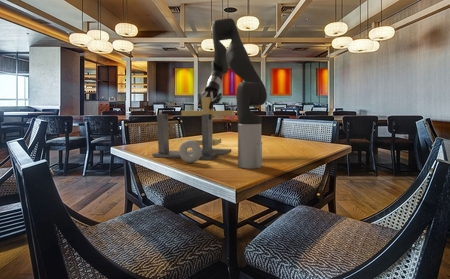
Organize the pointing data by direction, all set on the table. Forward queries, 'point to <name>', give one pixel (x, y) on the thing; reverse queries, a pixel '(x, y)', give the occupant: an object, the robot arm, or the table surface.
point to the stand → (205, 154)
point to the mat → (217, 151)
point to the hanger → (206, 110)
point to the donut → (196, 149)
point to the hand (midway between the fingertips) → (205, 108)
